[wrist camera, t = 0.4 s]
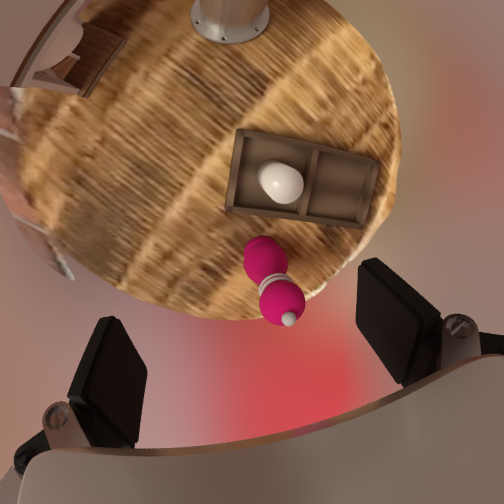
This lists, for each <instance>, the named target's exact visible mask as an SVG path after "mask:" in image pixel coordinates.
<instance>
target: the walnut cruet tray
mask: <svg viewBox="0 0 504 504" xmlns="http://www.w3.org/2000/svg"><path fill="white" fill-rule="evenodd" d="M270 159H272V160H276V161H279V162H281V163H283V164H285V165H287V166H290V167H292V168H294V169H296V170H297V171H298V172H299V173H300V174H301V176H302V178H303V183H304V186H303V191H302V193H301V195H300V196H299V197H298V199H296V200H295V201H293V202H291V203H288V204H281V203H277V202H275V201H274V200H273V199H272V198H271V197H270V196H269V195H268V194H267V193H266V192H265V191H264V190H263V189H262V187H261V186H260V185H259V184H258V183H257V181H256V177H255V172H256V169H257V167H258V166H259V164H260V163H262V162H263V161H265V160H270ZM379 165H380V161H377V160H374V159H371V158H368V157H364V156H361V155H358V154H354V153H351V152H347V151H343V150H340V149H336V148H332V147H328V146H324V145H320V144H316V143H312V142H308V141H303V140H298V139H294V138H289V137H284V136H279V135H273V134H268V133H262V132H256V131H250V130H243V129H236V135H235V141H234V147H233V153H232V160H231V166H230V173H229V180H228V187H227V194H226V201H225V211H226V212H229V213H239V214H248V215H257V216H265V217H274V218H282V219H290V220H298V221H305V222H313V223H320V224H327V225H334V226H341V227H348V228H354V229H361V230H363V228H364V225H365V221H366V217H367V214H368V210H369V207H370V203H371V199H372V195H373V191H374V187H375V183H376V179H377V174H378V170H379Z"/></svg>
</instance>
